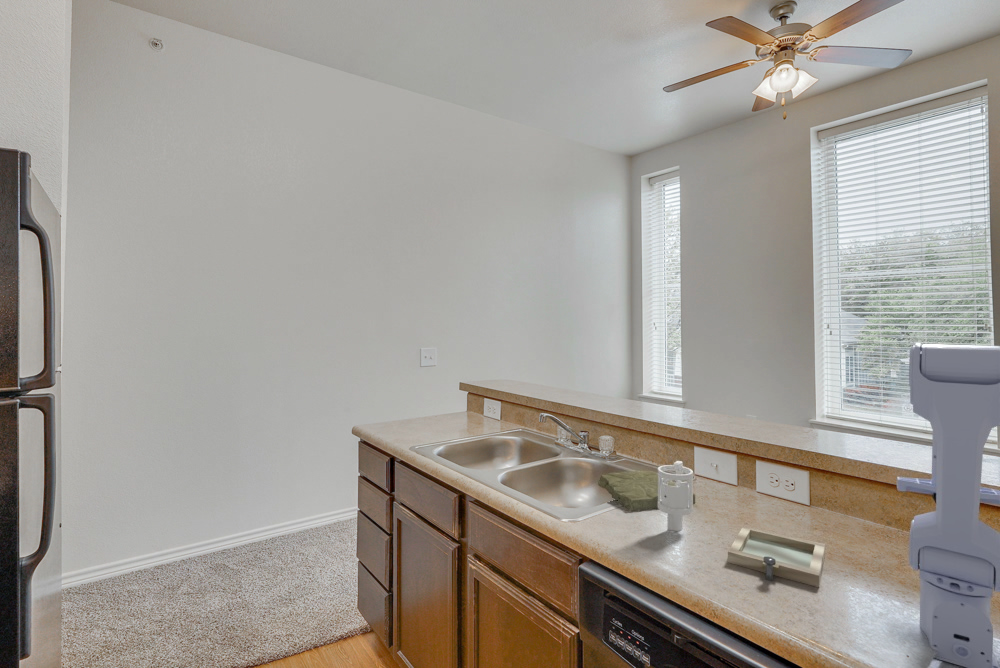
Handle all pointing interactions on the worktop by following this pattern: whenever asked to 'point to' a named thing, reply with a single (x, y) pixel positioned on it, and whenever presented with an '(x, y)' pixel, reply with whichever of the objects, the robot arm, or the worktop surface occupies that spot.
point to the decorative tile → (634, 488)
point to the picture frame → (779, 554)
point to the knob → (769, 567)
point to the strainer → (675, 494)
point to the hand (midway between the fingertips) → (953, 541)
